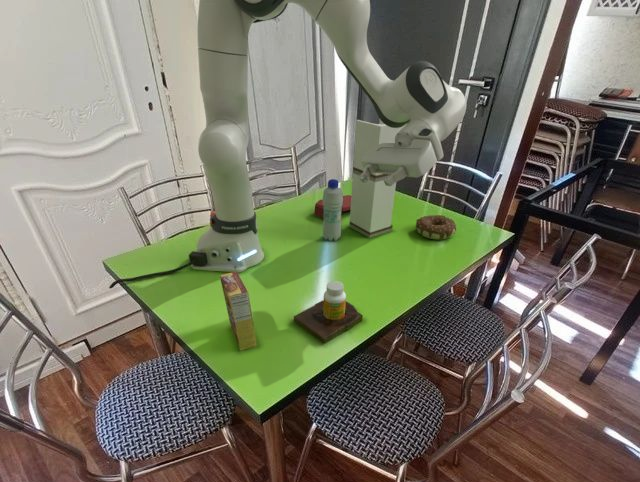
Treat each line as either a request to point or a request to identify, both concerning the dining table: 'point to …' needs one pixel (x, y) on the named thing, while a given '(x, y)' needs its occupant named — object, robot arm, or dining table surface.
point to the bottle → (332, 210)
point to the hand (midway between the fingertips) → (373, 181)
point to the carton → (320, 208)
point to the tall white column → (371, 182)
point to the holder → (326, 322)
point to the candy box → (239, 310)
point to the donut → (436, 227)
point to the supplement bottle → (334, 301)
